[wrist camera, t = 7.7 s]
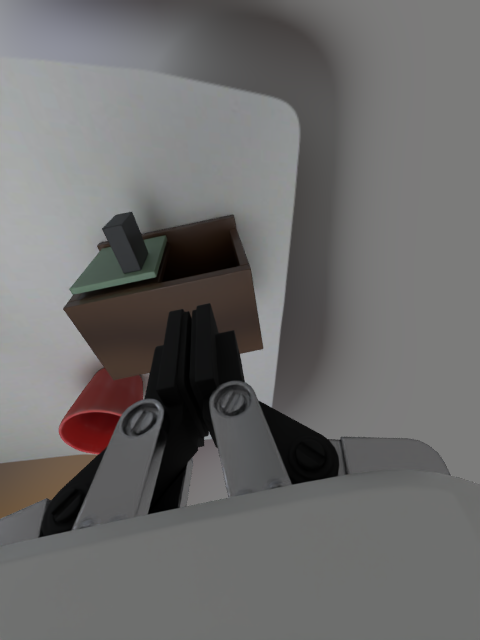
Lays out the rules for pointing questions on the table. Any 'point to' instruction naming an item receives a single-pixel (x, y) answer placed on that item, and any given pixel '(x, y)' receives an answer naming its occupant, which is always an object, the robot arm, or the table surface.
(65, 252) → the table surface
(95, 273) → the sliding door
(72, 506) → the robot arm
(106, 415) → the flower pot
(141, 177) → the table surface
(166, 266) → the cupboard
